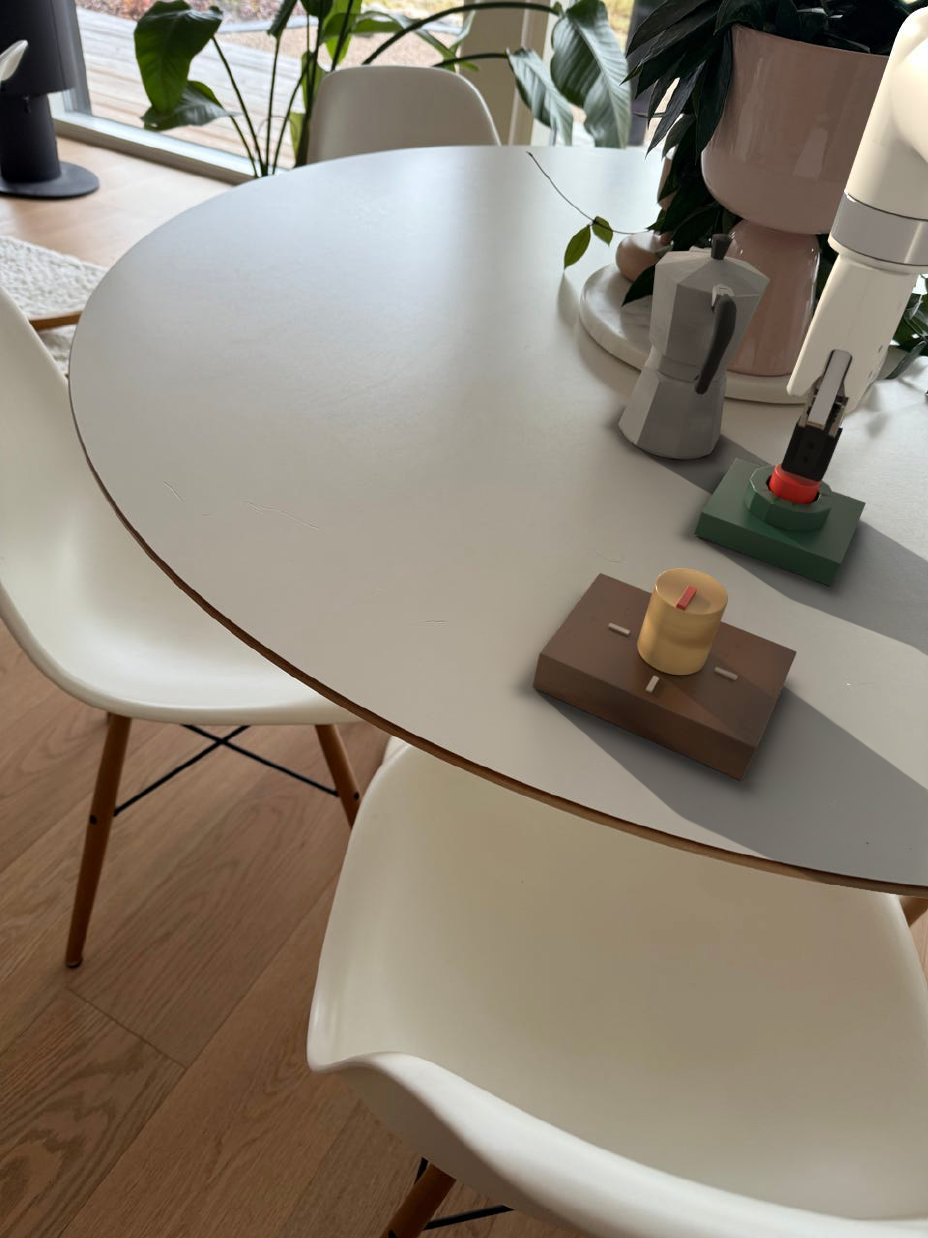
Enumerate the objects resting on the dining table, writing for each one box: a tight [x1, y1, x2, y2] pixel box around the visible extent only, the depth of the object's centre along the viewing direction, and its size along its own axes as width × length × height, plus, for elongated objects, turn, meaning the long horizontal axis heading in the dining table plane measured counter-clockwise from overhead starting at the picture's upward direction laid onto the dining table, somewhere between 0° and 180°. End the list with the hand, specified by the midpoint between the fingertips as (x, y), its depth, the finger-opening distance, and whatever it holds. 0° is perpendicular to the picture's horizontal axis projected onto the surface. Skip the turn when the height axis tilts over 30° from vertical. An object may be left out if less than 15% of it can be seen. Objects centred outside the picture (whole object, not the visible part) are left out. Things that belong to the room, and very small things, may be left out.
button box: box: [693, 457, 866, 587], centre depth 80 cm, size 11×10×4 cm
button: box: [769, 461, 821, 504], centre depth 78 cm, size 4×4×2 cm
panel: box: [531, 572, 797, 781], centre depth 64 cm, size 14×10×3 cm
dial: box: [637, 567, 729, 675], centre depth 62 cm, size 4×4×5 cm
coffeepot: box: [618, 233, 771, 460], centre depth 84 cm, size 15×9×18 cm, turn 178°
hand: (802, 471), depth 77 cm, fingers closed
